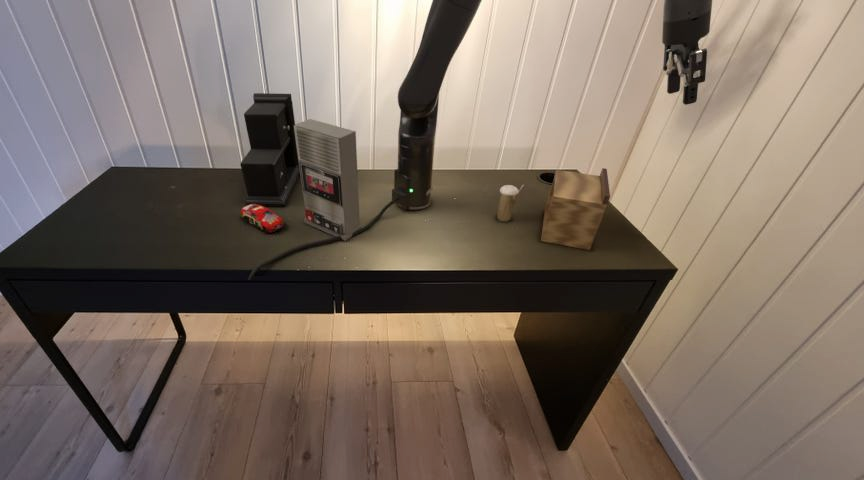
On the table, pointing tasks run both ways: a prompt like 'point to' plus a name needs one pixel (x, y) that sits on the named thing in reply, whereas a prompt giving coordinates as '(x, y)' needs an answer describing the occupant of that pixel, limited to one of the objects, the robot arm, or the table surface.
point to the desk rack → (575, 208)
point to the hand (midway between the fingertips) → (681, 97)
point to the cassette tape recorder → (329, 177)
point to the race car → (262, 218)
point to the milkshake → (506, 202)
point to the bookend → (270, 150)
